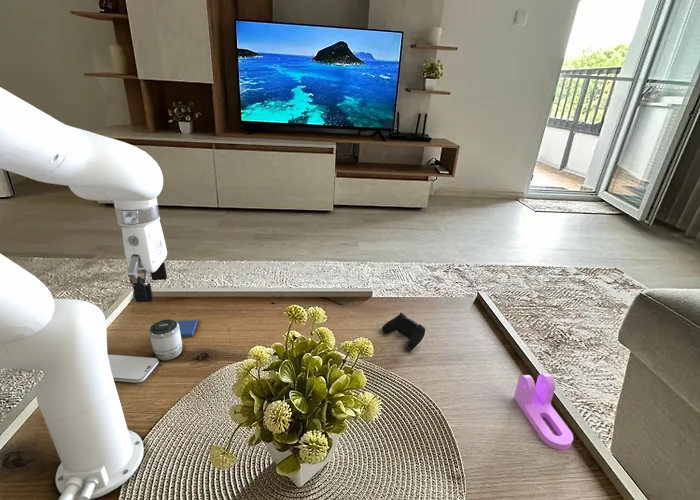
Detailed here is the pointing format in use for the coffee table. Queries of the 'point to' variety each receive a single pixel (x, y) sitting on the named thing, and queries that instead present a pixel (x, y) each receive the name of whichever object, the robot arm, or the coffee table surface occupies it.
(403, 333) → the gaming controller
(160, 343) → the camera lens
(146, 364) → the smartphone
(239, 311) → the coffee table surface
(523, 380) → the bracket
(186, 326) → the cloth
